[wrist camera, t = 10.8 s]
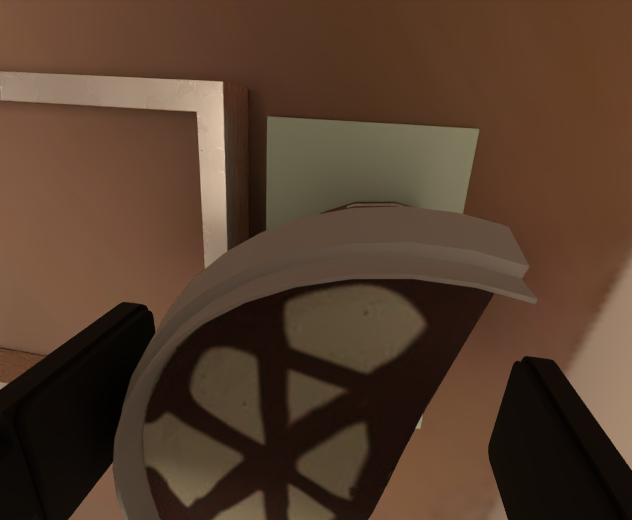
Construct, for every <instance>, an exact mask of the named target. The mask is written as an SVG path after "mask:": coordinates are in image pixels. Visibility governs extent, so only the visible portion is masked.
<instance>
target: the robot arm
mask: <svg viewBox="0 0 632 520" xmlns="http://www.w3.org/2000/svg"><path fill="white" fill-rule="evenodd" d="M154 334H155V326H154V318H153V314H152V312H151V311H148V308H147V306H145V305H143V304H136V303H129V302H122V303H120V304H119V305H117V306H116V307H114V308H113V309H112V310H110V311H109V312H107V313H106V314H105V315H103V316H102V317H100V318H99V319H98V320H96V321H95V322H94V323H92V324H91V325H89V326H88V327H87V328H85V329H84V330H82V331H81V332H80V333H78V334H77V335H75V336H74V337H73V338H71V339H70V340H68V341H67V342H66V343H64V344H63V345H62V346H60V347H59V348H57V349H56V350H55V351H53V352H52V353H50V354H49V355H48V356H46V357H45V358H43V359H42V360H41V361H39V362H38V363H36V364H35V365H34V366H32V367H31V368H30V369H28V370H27V371H25V372H24V373H23V374H21V375H20V376H18V377H17V378H16V379H14V380H13V381H11V382H10V383H9V384H7V385H6V386H4V387H3V388H2V389H0V520H68V519H69V518H70V517H71V515H72V514H73V513H74V511H75V510H76V509H77V508H78V506H79V505H80V504H81V502H82V501H83V500H84V499H85V497H86V496H87V495H88V493H89V492H90V491H91V490H92V488H93V487H94V486H95V484H96V483H97V482H98V481H99V479H100V478H101V477H102V475H103V474H104V473H105V472H106V470H107V469H108V468H109V466H110V465H111V464H112V462H113V456H114V440H115V435H116V431H117V428H118V424H119V421H120V417H121V414H122V407H123V404H124V400H125V397H126V393H127V390H128V386H129V383H130V379H131V376H132V374H133V373H134V371H135V369H136V367H137V365H138V363H139V361H140V360H141V358H142V356H143V354H144V352H145V350H146V348H147V347H148V345H149V343H150V341H151V340H152V338H153V336H154ZM488 454H489V460H490V464H491V467H492V470H493V473H494V476H495V480H496V483H497V486H498V489H499V492H500V495H501V499H502V502H503V505H504V508H505V511H506V515H507V518H508V520H632V470H631V469H630V468H629V466H628V464H626V462H625V460H624V459H623V457H622V456H621V455H620V453H619V452H618V450H617V449H616V448H615V446H614V445H613V443H612V442H611V440H610V439H609V438H608V436H607V435H606V433H605V432H604V431H603V429H602V428H601V426H600V425H599V424H598V422H597V421H596V419H595V418H594V416H593V415H592V414H591V412H590V411H589V409H588V408H587V407H586V405H585V404H584V403H583V401H582V400H581V398H580V397H579V395H578V394H577V392H576V391H575V389H574V388H573V387H572V385H571V384H570V382H569V381H568V380H567V378H566V377H565V375H564V374H563V372H562V371H561V370H560V368H559V367H558V365H557V364H556V363H555V362H554V361H553V360H550V359H543V358H536V357H528V356H526V357H524V358H523V359H522V361H521V362H520V361H516V362H515V363H514V364H513V367H512V370H511V373H510V377H509V380H508V383H507V386H506V390H505V393H504V396H503V399H502V403H501V406H500V409H499V413H498V416H497V419H496V422H495V426H494V429H493V432H492V435H491V439H490V442H489V447H488Z"/></svg>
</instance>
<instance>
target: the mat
mask: <svg viewBox="0 0 632 520" xmlns="http://www.w3.org/2000/svg"><path fill="white" fill-rule="evenodd" d="M478 134H479V129H473V128H456V127H439V126H422V125H405V124H388V123H371V122H354V121H338V120H321V119H304V118H287V117H270V116H267V185H266V231H267V230H269V229H272V228H275V227H278V226H281V225H283V224H286V223H289V222H292V221H294V220H297V219H300V218H303V217H307V216H312V215H318V214H320V213H322V212H325V211H328V210H331V209H334V208H338V207H341V206H344V205H347V204H350V203H353V202H397V203H401V204H405V205H408V206H412V207H416V208H424V209H432V210H440V211H449V212H457V213H462V214H463V210H464V205H465V200H466V195H467V190H468V185H469V180H470V175H471V170H472V165H473V160H474V155H475V150H476V145H477V140H478ZM422 417H423V415H422ZM422 417H421V419H420V420H419V422H418V424H417V426H416V428H417V429H420V427H421V422H422Z"/></svg>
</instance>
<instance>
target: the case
mask: <svg viewBox="0 0 632 520" xmlns="http://www.w3.org/2000/svg"><path fill="white" fill-rule="evenodd" d="M0 101H13V102H30V103H47V104H64V105H81V106H98V107H115V108H131V109H148V110H165V111H182V112H197V123H198V143H199V162H200V182H201V202H202V222H203V242H204V261H205V269H206V268H207V267H208V266H209V265H210V264H212V263H213V262H214V261H215V260H216V259H218V258H219V257H220V256H221V255H222V254H224V253H225V252H227V251H229V250H231V249H233V248H234V247H236V246H238V245H240V244H241V243H243V242H245V241H247V240H249V163H248V89H247V88H243V87H240V86H236V85H233V84H229V83H226V82H221V81H199V80H177V79H155V78H133V77H112V76H90V75H68V74H46V73H24V72H2V71H0ZM45 357H46V356H42V355H37V354H31V353H25V352H19V351H13V350H7V349H2V348H0V389H2V388H3V387H4V386H6V385H7V384H9V383H10V382H11V381H13V380H14V379H16V378H17V377H18V376H20V375H21V374H23V373H24V372H25V371H27V370H28V369H30V368H31V367H32V366H34V365H35V364H36V363H38V362H39V361H41V360H42V359H43V358H45Z"/></svg>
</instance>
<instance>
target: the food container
mask: <svg viewBox="0 0 632 520" xmlns="http://www.w3.org/2000/svg"><path fill="white" fill-rule="evenodd" d="M529 267H530V266H529V264H528V262H527V261H526V259H525V257H524V255H523V253H522V251H521V249H520V247H519V245H518V243H517V241H516V240H515V238H514V236H513V234H512V232H511V230H510V228H509V226H506V225H502V224H498V223H495V222H491V221H487V220H484V219H480V218H476V217H473V216H469V215H465V214H462V213H457V212H449V211H440V210H432V209H424V208H416V207H412V206H408V205H405V204H401V203H397V202H353V203H350V204H347V205H344V206H341V207H338V208H334V209H331V210H328V211H325V212H322V213H320V214H318V215H312V216H307V217H303V218H300V219H297V220H294V221H292V222H289V223H286V224H283V225H281V226H278V227H275V228H272V229H269V230H267V231H264V232H261V233H259V234H257V235H256V236H254V237H252V238H250V239H249V240H247V241H245V242H243V243H241V244H240V245H238V246H236V247H234V248H233V249H231V250H229V251H227V252H225V253H224V254H222V255H221V256H220V257H219V258H218V259H216V260H215V261H214V262H213V263H212V264H210V265H209V266H208V267H207V268H206V269H204V270H203V271H202V272H201V273H200V274H198V275H197V276H196V277H195V278H194V279H193V280H192V281H191V282H190V283H189V285H188V286H187V287H186V288H185V290H184V291H183V292H182V293H181V294H180V296H179V297H178V298H177V299H176V300H175V302H174V303H173V304H172V305H171V307H170V309H169V310H168V312H167V314H166V315H165V317H164V319H163V321H162V322H161V324H160V326H159V328H158V329H157V331H156V333H155V334H154V336H153V338H152V340H151V341H150V343H149V345H148V347H147V348H146V350H145V352H144V354H143V356H142V358H141V360H140V361H139V363H138V365H137V367H136V369H135V371H134V373H133V374H132V376H131V379H130V383H129V386H128V390H127V393H126V397H125V400H124V404H123V407H122V414H121V417H120V421H119V424H118V428H117V431H116V435H115V440H114V456H113V474H114V481H115V488H116V495H117V500H118V503H119V506H120V509H121V512H122V515H123V518H124V520H368V519H369V517H370V516H371V514H372V513H373V511H374V509H375V507H376V505H377V503H378V501H379V499H380V497H381V495H382V493H383V492H384V490H385V488H386V486H387V484H388V482H389V480H390V478H391V475H392V473H393V471H394V469H395V467H396V465H397V463H398V461H399V459H400V457H401V455H402V453H403V451H404V449H405V447H406V445H407V443H408V441H409V440H410V438H411V436H412V434H413V432H414V430H415V428H416V426H417V424H418V422H419V420H420V419H421V417H422V415H423V413H424V411H425V409H426V407H427V406H428V404H429V402H430V401H431V399H432V397H433V395H434V394H435V392H436V390H437V389H438V387H439V385H440V384H441V382H442V380H443V379H444V377H445V375H446V373H447V372H448V370H449V368H450V367H451V365H452V363H453V362H454V360H455V358H456V357H457V355H458V353H459V351H460V350H461V348H462V346H463V345H464V343H465V341H466V340H467V338H468V336H469V335H470V333H471V331H472V330H473V328H474V326H475V325H476V323H477V321H478V320H479V318H480V316H481V315H482V313H483V311H484V310H485V308H486V306H487V305H488V303H489V301H490V300H491V298H492V296H493V294H494V293H496V294H500V295H503V296H507V297H511V298H514V299H518V300H521V301H525V302H528V303H532V304H535V303H536V301H537V300H538V299H537V297H536V296H535V295H534V294H533V293H532V291H531V290H530V289H529V288H528V286H527V285H526V284H525V283H524V281H523V280H522V277H523V276H524V275H525V273H526V272H527V270H528V268H529Z"/></svg>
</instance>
